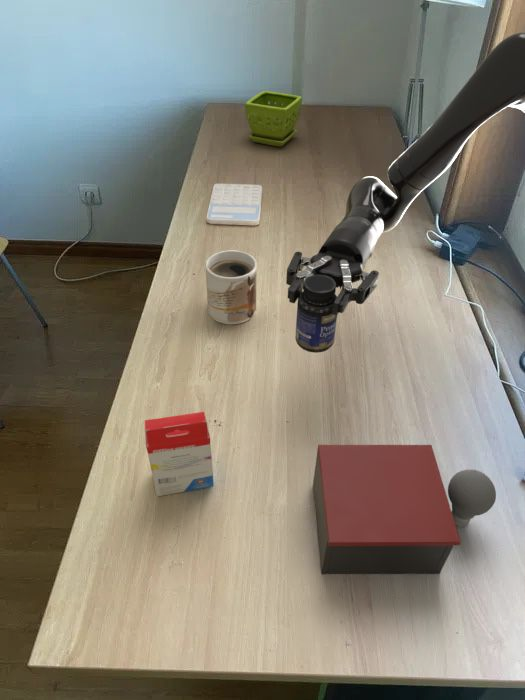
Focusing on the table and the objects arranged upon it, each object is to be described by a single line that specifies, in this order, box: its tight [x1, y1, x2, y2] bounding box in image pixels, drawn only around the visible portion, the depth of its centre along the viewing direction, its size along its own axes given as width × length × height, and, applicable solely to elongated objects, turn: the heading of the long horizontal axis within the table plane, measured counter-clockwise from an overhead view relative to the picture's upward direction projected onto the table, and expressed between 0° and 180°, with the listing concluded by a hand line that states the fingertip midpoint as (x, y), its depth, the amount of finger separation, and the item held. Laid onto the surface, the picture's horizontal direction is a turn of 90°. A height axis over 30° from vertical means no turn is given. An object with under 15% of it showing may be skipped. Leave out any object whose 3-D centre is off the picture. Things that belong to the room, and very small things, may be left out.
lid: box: [317, 444, 461, 547], centre depth 72 cm, size 14×16×1 cm
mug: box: [204, 249, 258, 325], centre depth 111 cm, size 10×12×11 cm
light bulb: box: [447, 468, 497, 528], centre depth 76 cm, size 6×6×10 cm
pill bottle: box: [294, 275, 338, 354], centre depth 85 cm, size 6×6×11 cm
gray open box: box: [312, 450, 454, 575], centre depth 75 cm, size 14×16×9 cm
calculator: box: [205, 183, 263, 226], centre depth 146 cm, size 13×20×2 cm, turn 178°
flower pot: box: [244, 90, 303, 148], centre depth 177 cm, size 14×14×13 cm
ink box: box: [144, 411, 215, 497], centre depth 79 cm, size 8×5×15 cm, turn 102°
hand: (313, 303), depth 81 cm, fingers closed on pill bottle, 6 cm apart
